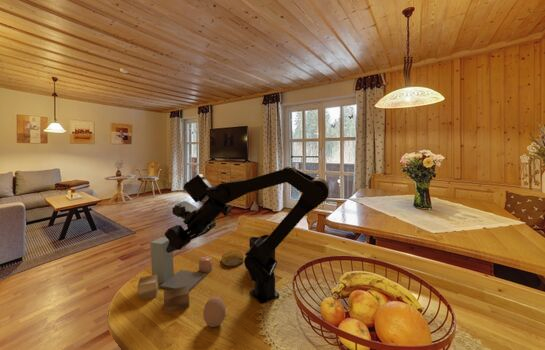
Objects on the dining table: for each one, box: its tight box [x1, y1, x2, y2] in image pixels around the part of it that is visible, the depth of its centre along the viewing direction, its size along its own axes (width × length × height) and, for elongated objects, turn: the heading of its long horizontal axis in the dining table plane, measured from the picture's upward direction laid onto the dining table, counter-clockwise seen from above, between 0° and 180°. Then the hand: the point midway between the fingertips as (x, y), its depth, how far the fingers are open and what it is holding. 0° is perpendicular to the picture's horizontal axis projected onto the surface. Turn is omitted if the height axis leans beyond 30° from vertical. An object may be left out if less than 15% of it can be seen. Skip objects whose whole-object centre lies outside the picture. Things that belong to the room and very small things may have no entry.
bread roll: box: [221, 248, 245, 267], centre depth 89 cm, size 8×9×4 cm
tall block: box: [149, 237, 175, 284], centre depth 75 cm, size 4×4×13 cm
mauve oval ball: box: [202, 296, 227, 328], centre depth 55 cm, size 5×5×7 cm
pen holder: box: [249, 234, 276, 260], centre depth 84 cm, size 9×9×10 cm
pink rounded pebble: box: [198, 255, 213, 274], centre depth 82 cm, size 4×4×4 cm
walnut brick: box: [163, 286, 190, 315], centre depth 63 cm, size 6×4×4 cm, turn 115°
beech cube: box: [137, 274, 159, 301], centre depth 68 cm, size 4×4×4 cm
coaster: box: [159, 269, 207, 293], centre depth 75 cm, size 10×10×1 cm
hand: (177, 245), depth 73 cm, fingers open, 9 cm apart
